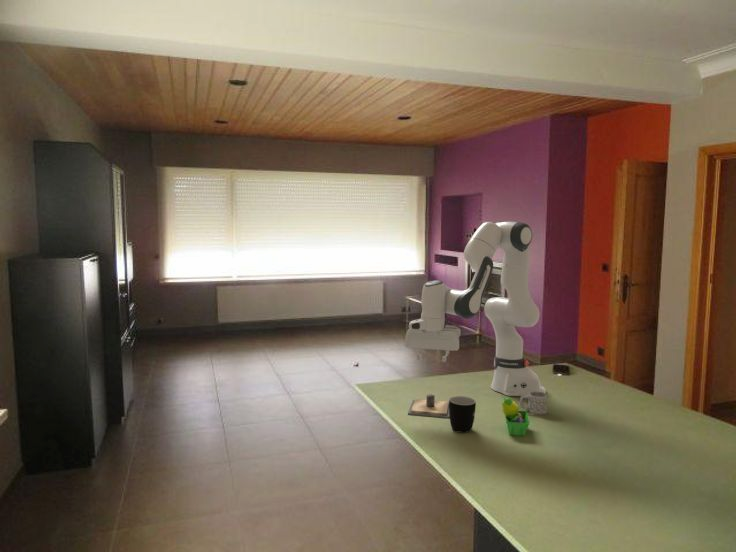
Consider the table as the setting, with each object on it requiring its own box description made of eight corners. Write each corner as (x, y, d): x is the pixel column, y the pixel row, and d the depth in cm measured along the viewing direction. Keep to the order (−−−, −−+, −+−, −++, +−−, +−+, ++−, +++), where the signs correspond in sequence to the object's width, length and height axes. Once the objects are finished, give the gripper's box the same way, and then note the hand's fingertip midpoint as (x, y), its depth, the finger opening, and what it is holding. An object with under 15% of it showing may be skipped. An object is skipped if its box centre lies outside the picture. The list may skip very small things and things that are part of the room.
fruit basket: (529, 438, 173) (530, 405, 172) (501, 435, 175) (503, 402, 174) (526, 425, 184) (527, 394, 183) (500, 422, 186) (501, 392, 185)
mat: (451, 404, 204) (451, 403, 204) (449, 418, 190) (449, 416, 190) (413, 401, 207) (413, 399, 207) (407, 414, 193) (407, 413, 193)
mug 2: (544, 408, 201) (545, 391, 200) (548, 415, 195) (549, 397, 194) (517, 407, 202) (518, 390, 201) (520, 413, 196) (521, 396, 195)
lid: (448, 403, 203) (449, 391, 203) (446, 415, 191) (446, 402, 190) (415, 400, 206) (415, 389, 206) (411, 412, 193) (411, 399, 193)
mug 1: (476, 434, 175) (477, 405, 174) (449, 433, 176) (450, 404, 174) (470, 421, 187) (471, 393, 186) (445, 420, 187) (446, 392, 186)
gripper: (461, 324, 196) (459, 360, 197) (406, 321, 200) (406, 356, 202) (460, 327, 190) (459, 364, 191) (404, 324, 194) (403, 360, 196)
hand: (431, 360), depth 197 cm, fingers open, 8 cm apart
